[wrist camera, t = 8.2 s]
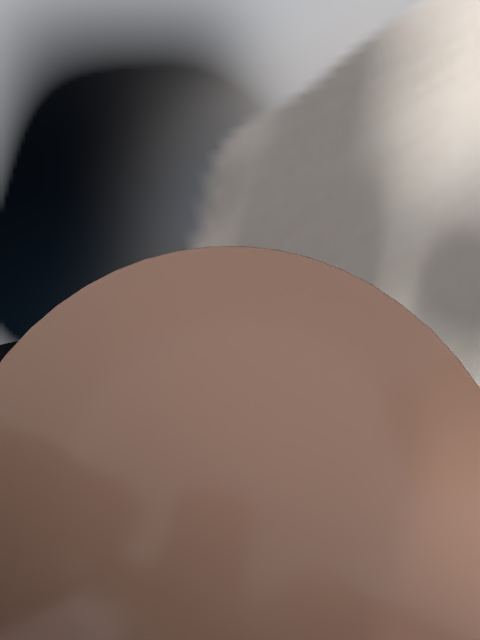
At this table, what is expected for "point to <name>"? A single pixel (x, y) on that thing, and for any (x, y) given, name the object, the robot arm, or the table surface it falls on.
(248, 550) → the salmon pink cylinder
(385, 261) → the table surface
